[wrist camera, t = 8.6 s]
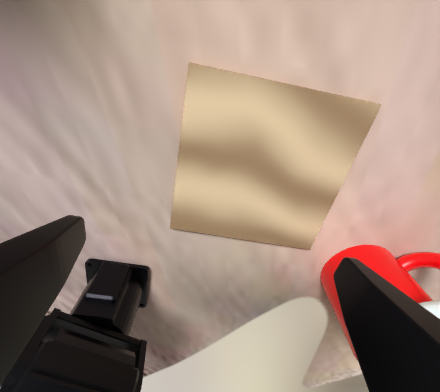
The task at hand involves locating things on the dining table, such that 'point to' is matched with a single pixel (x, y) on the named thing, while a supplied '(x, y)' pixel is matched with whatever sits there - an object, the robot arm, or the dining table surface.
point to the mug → (380, 273)
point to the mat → (262, 156)
